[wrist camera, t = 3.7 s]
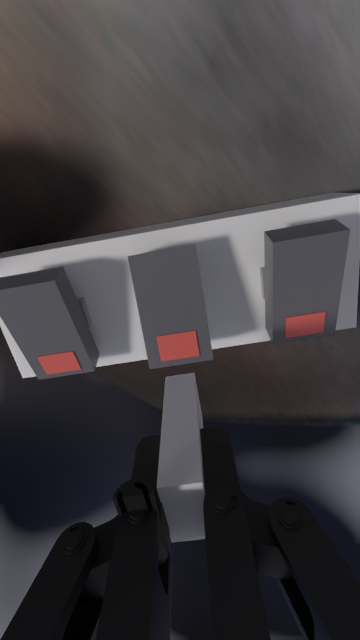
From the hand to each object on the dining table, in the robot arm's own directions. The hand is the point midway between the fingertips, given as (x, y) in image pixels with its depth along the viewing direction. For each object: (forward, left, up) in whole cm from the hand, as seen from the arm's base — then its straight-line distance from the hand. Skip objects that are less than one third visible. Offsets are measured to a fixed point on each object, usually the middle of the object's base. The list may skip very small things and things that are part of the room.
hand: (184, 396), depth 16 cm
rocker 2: (-3, 0, -5) cm, 6 cm away
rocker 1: (-3, -8, -5) cm, 10 cm away
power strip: (-3, -4, -11) cm, 12 cm away
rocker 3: (-3, +8, -5) cm, 10 cm away
